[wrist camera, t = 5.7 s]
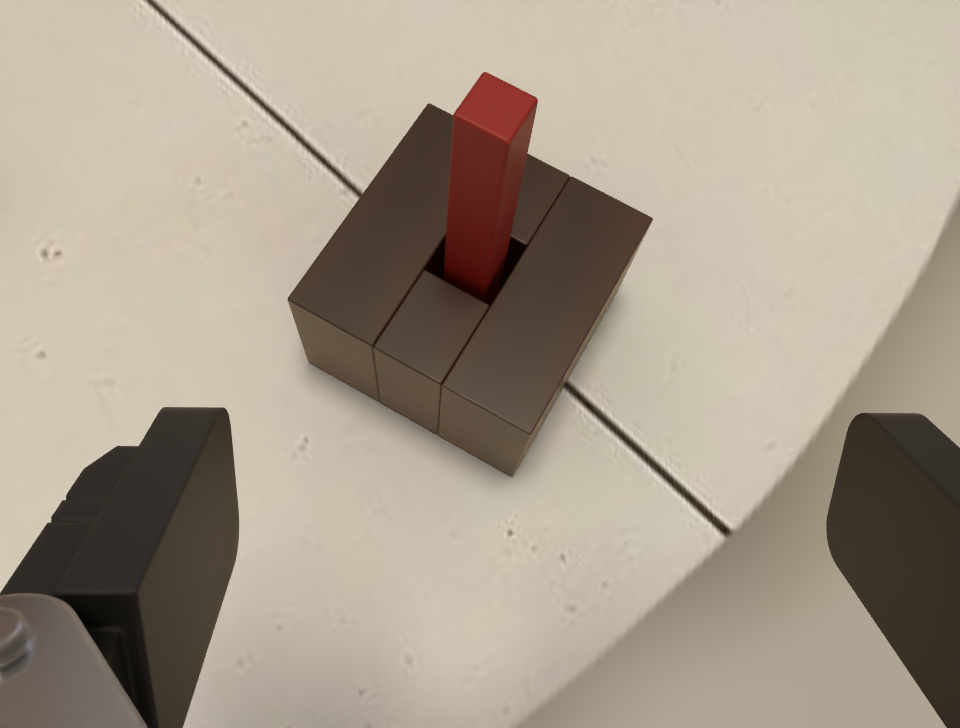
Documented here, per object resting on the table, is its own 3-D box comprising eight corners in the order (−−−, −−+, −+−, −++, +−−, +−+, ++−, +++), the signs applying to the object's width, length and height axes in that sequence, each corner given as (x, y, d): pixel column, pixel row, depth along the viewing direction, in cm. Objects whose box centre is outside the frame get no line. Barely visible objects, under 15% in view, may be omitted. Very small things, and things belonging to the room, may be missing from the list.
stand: (618, 289, 31) (653, 217, 26) (512, 477, 28) (530, 435, 24) (426, 188, 32) (428, 101, 27) (307, 361, 29) (286, 298, 25)
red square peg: (495, 318, 30) (540, 97, 19) (474, 350, 30) (508, 143, 19) (459, 298, 30) (483, 68, 19) (439, 331, 30) (451, 114, 19)
